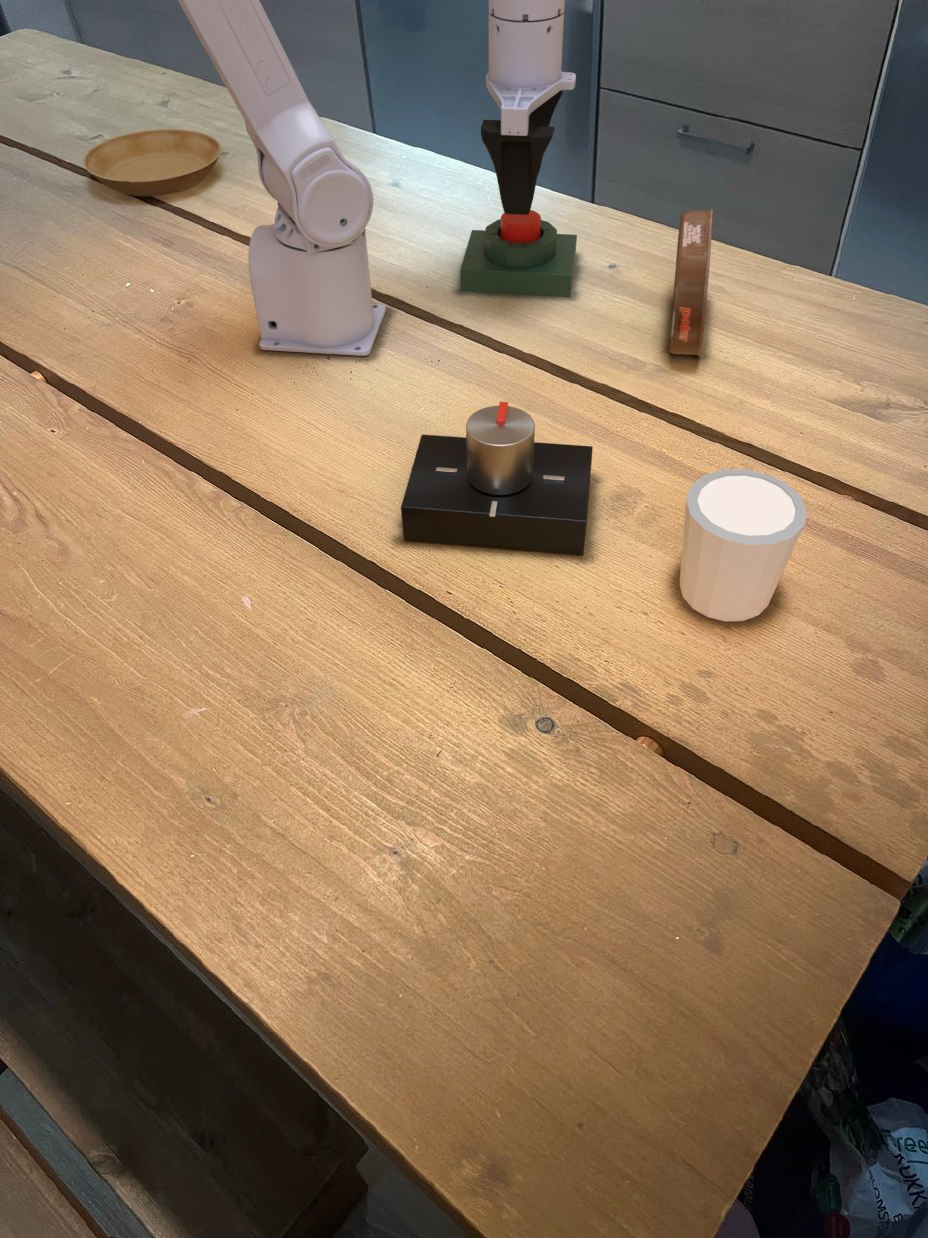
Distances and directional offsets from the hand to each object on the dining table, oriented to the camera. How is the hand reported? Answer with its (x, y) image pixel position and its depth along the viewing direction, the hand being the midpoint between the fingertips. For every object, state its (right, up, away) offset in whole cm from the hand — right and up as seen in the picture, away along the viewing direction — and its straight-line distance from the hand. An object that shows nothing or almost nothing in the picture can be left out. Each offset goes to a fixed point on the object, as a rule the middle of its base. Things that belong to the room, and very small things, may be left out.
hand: (521, 193), depth 82 cm
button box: (0, -4, +7) cm, 9 cm away
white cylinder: (+11, -35, -21) cm, 43 cm away
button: (0, -2, +5) cm, 5 cm away
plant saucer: (-39, +12, +24) cm, 47 cm away
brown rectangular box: (+14, -12, 0) cm, 18 cm away
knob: (-3, -27, -18) cm, 33 cm away
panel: (-3, -29, -16) cm, 33 cm away
